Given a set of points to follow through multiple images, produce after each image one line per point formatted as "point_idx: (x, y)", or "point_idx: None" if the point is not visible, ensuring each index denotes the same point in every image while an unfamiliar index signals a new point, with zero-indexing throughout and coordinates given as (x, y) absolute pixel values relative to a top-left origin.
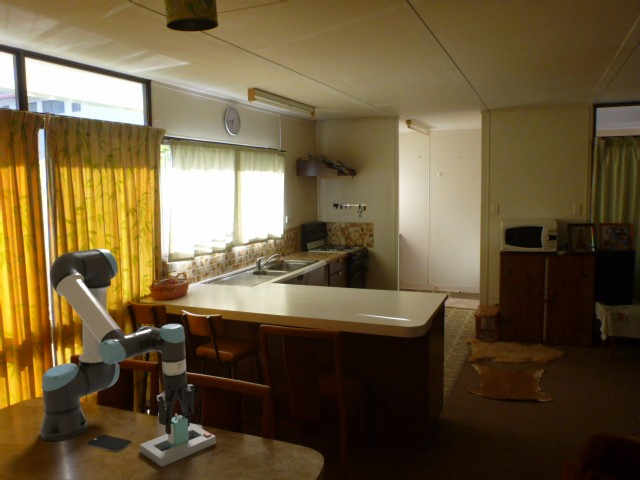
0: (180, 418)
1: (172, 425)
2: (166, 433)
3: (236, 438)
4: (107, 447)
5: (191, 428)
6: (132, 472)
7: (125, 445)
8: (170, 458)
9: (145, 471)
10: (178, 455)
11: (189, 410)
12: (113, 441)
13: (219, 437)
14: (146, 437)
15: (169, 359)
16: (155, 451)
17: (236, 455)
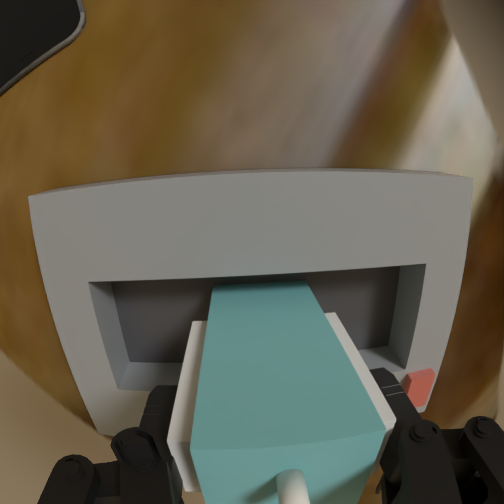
0: (315, 494)
1: (197, 485)
2: (157, 393)
3: (473, 383)
4: None
5: (433, 240)
6: (5, 342)
7: (34, 52)
8: None
9: (47, 376)
10: None
11: (469, 464)
12: None
13: (459, 339)
14: (177, 10)
15: None
16: (84, 359)
17: (376, 473)
